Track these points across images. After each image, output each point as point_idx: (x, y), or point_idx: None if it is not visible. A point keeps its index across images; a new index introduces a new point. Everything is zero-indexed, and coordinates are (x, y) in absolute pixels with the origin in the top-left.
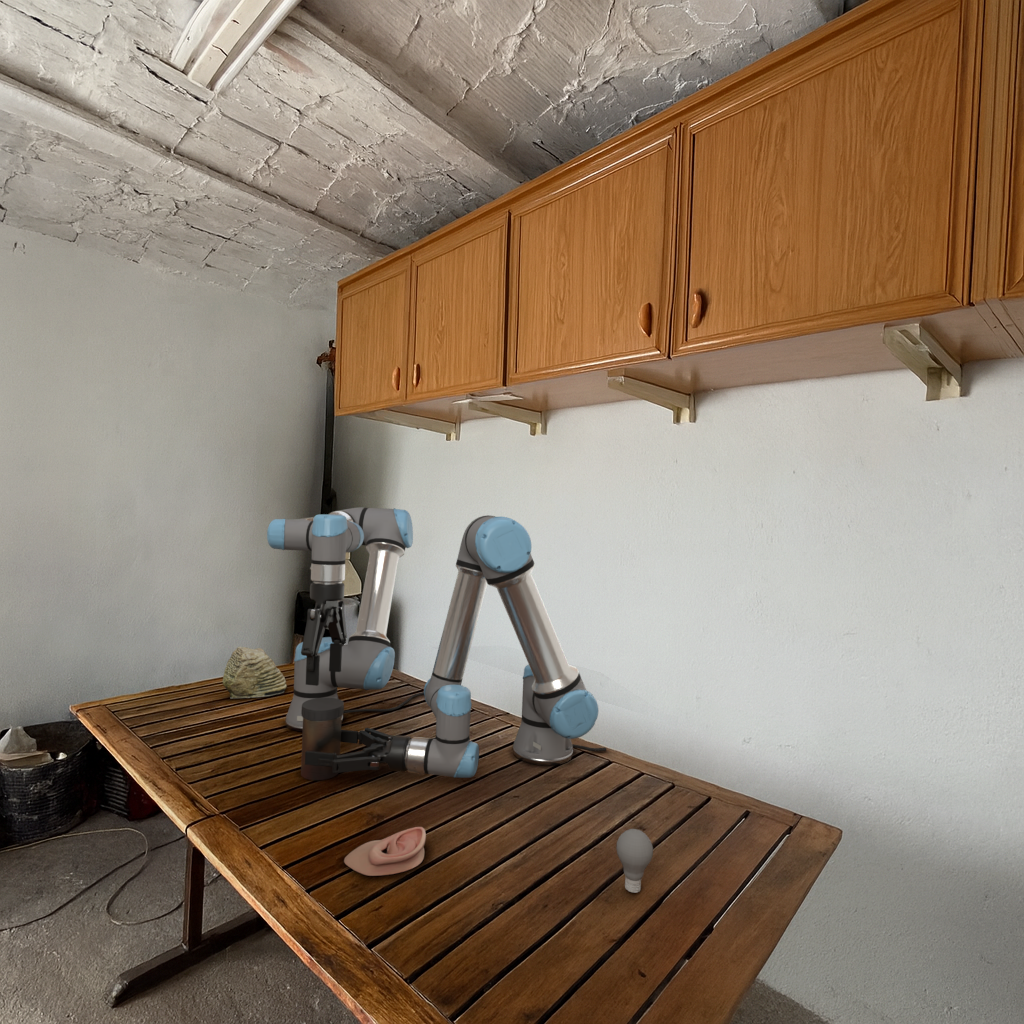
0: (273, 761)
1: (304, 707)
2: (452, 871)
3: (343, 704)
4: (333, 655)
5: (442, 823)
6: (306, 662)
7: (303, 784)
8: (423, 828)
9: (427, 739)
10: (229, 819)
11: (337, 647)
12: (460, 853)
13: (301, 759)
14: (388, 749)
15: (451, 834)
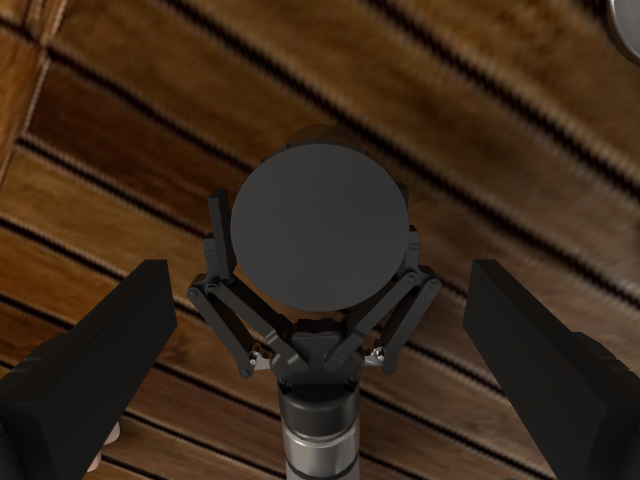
0: (353, 5)
1: (247, 182)
2: (86, 476)
3: (345, 306)
4: (524, 353)
5: (197, 442)
6: (50, 349)
7: (247, 165)
8: (92, 469)
9: (320, 475)
10: (36, 90)
11: (561, 445)
12: (130, 476)
13: (294, 135)
14: (305, 378)
15: (172, 458)
